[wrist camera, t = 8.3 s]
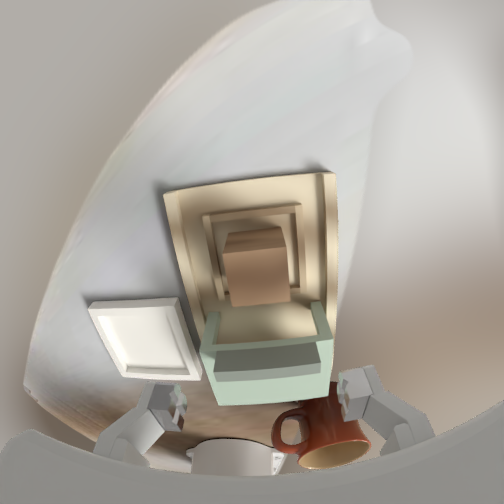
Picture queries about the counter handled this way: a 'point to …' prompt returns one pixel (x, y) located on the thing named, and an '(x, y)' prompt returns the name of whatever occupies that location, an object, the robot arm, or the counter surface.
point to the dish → (147, 338)
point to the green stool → (269, 365)
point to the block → (257, 267)
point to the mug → (322, 433)
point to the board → (252, 218)
